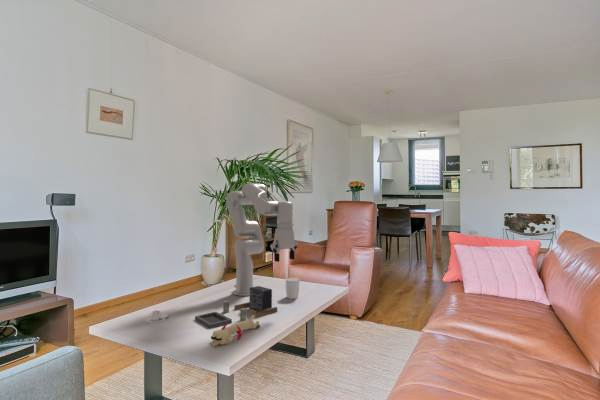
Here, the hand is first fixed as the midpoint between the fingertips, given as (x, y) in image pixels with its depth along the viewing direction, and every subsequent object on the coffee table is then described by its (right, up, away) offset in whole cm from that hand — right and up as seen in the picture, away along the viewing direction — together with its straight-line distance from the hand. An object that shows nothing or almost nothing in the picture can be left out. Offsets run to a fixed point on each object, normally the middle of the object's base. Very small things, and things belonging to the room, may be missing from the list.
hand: (284, 260), depth 176 cm
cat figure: (-18, -25, -36) cm, 47 cm away
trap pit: (-31, -24, -19) cm, 44 cm away
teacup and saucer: (-54, -24, -19) cm, 63 cm away
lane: (-16, -24, -6) cm, 30 cm away
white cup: (+4, -24, +20) cm, 32 cm away
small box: (-12, -24, -2) cm, 27 cm away
